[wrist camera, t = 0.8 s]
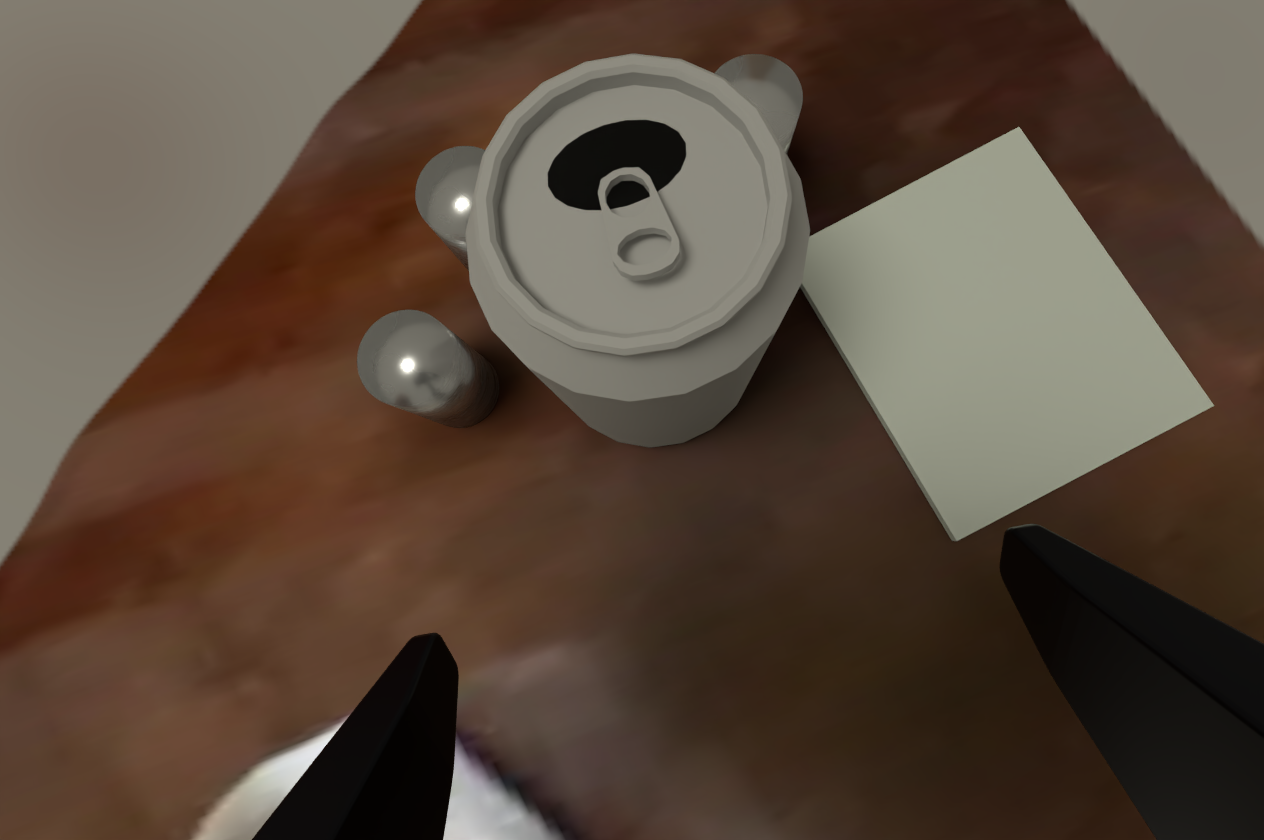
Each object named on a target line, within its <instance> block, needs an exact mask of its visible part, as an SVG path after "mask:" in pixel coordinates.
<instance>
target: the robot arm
mask: <svg viewBox="0 0 1264 840" xmlns="http://www.w3.org/2000/svg"><path fill="white" fill-rule="evenodd" d="M1000 573H1001V576H1002V579H1003V582H1004V584H1005V586H1006V588H1007V590H1008V592H1009V594H1010V596H1011V598H1012V599H1013V601H1014V603H1015V605H1016V607H1017V609H1018V611H1019V613H1020V615H1021V617H1022V619H1023V621H1024V623H1025V625H1026V627H1027V629H1028V631H1029V633H1030V635H1031V637H1032V639H1033V641H1034V643H1035V645H1036V647H1037V649H1038V651H1039V653H1040V655H1041V657H1042V659H1043V661H1044V663H1045V665H1046V666H1047V668H1048V670H1049V672H1050V674H1051V675H1052V677H1053V679H1054V680H1055V682H1056V684H1057V685H1058V687H1059V688H1060V690H1061V692H1062V693H1063V695H1064V696H1065V698H1066V699H1067V701H1068V702H1069V704H1070V706H1071V707H1072V709H1073V710H1074V712H1075V713H1076V715H1077V716H1078V718H1079V720H1080V721H1081V723H1082V724H1083V726H1084V727H1085V729H1086V730H1087V732H1088V733H1089V735H1090V737H1091V738H1092V740H1093V741H1094V743H1095V744H1096V746H1097V747H1098V749H1099V751H1100V752H1101V754H1102V755H1103V757H1104V758H1105V760H1106V761H1107V763H1108V765H1109V766H1110V768H1111V769H1112V771H1113V772H1114V774H1115V775H1116V777H1117V778H1118V780H1119V782H1120V783H1121V785H1122V786H1123V788H1124V789H1125V791H1126V792H1127V794H1128V796H1129V797H1130V799H1131V800H1132V802H1133V803H1134V805H1135V806H1136V808H1137V809H1138V811H1139V813H1140V814H1141V816H1142V817H1143V819H1144V820H1145V822H1146V823H1147V825H1148V827H1149V828H1150V830H1151V831H1152V833H1153V834H1154V836H1155V837H1156V839H1157V840H1264V644H1263V643H1261V642H1259V641H1257V640H1256V639H1254V638H1252V637H1250V636H1248V635H1246V634H1244V633H1242V632H1240V631H1239V630H1237V629H1235V628H1233V627H1231V626H1229V625H1227V624H1225V623H1223V622H1222V621H1220V620H1218V619H1216V618H1214V617H1212V616H1210V615H1208V614H1206V613H1205V612H1203V611H1201V610H1199V609H1197V608H1195V607H1193V606H1191V605H1189V604H1188V603H1186V602H1184V601H1182V600H1180V599H1178V598H1176V597H1174V596H1172V595H1171V594H1169V593H1167V592H1165V591H1163V590H1161V589H1159V588H1157V587H1155V586H1154V585H1152V584H1150V583H1148V582H1146V581H1144V580H1142V579H1140V578H1139V577H1137V576H1135V575H1133V574H1131V573H1129V572H1127V571H1125V570H1123V569H1122V568H1120V567H1118V566H1116V565H1114V564H1112V563H1110V562H1108V561H1106V560H1105V559H1103V558H1101V557H1099V556H1097V555H1095V554H1093V553H1091V552H1089V551H1088V550H1086V549H1084V548H1082V547H1080V546H1078V545H1076V544H1074V543H1072V542H1071V541H1069V540H1067V539H1065V538H1063V537H1061V536H1059V535H1057V534H1055V533H1054V532H1052V531H1050V530H1048V529H1046V528H1044V527H1042V526H1040V525H1037V524H1027V525H1022V526H1016V527H1011V528H1009V529H1007V530H1006V532H1005V534H1004V539H1003V546H1002V552H1001V559H1000ZM458 677H459V675H458V667H457V664H456V662H455V660H454V658H453V656H452V654H451V653H450V651H449V649H448V647H447V646H446V644H445V642H444V641H443V639H442V637H441V636H440V635H439V634H437V633H429V634H423V635H418V636H414V637H413V638H411V639H410V640H409V641H408V642H407V643H406V645H405V646H404V647H403V649H402V650H401V651H400V652H399V654H398V655H397V656H396V657H395V659H394V660H393V661H392V663H391V664H390V665H389V666H388V668H387V669H386V670H385V671H384V673H383V674H382V675H381V676H380V678H379V679H378V680H377V682H376V683H375V684H374V685H373V687H372V688H371V689H370V690H369V692H368V693H367V694H366V695H365V697H364V698H363V699H362V701H361V702H360V703H359V704H358V706H357V707H356V708H355V709H354V711H353V712H352V713H351V715H350V716H349V717H348V718H347V720H346V721H345V722H344V723H343V725H342V726H341V727H340V728H339V730H338V731H337V732H336V734H335V735H334V736H333V737H332V739H331V740H330V741H329V742H328V744H327V745H326V746H325V747H324V749H323V750H322V751H321V753H320V754H319V755H318V756H317V758H316V759H315V760H314V761H313V763H312V764H311V765H310V767H309V768H308V769H307V770H306V772H305V773H304V774H303V775H302V777H301V778H300V779H299V780H298V782H297V783H296V784H295V786H294V787H293V788H292V789H291V791H290V792H289V793H288V794H287V796H286V797H285V798H284V800H283V801H282V802H281V803H280V805H279V806H278V807H277V808H276V810H275V811H274V812H273V813H272V815H271V816H270V817H269V819H268V820H267V821H266V822H265V824H264V825H263V826H262V827H261V829H260V830H259V831H258V832H257V834H256V835H255V836H254V838H253V839H252V840H443V837H444V831H445V824H446V818H447V811H448V805H449V799H450V792H451V786H452V778H453V770H454V757H455V738H456V718H457V698H458Z"/></svg>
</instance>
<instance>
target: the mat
mask: <svg viewBox="0 0 1264 840" xmlns="http://www.w3.org/2000/svg"><path fill="white" fill-rule="evenodd" d="M800 288H801V289H802V291H803V293H804V294H805V296H806V298H807V300H808V301H809V303H810V305H811V306H812V308H813V310H814V311H815V313H816V315H817V316H818V318H819V320H820V321H821V323H822V325H823V326H824V328H825V330H826V331H827V333H828V335H829V336H830V338H831V340H832V341H833V343H834V345H835V346H836V348H837V350H838V351H839V353H840V355H841V356H842V358H843V360H844V361H845V363H846V365H847V366H848V368H849V370H850V371H851V373H852V375H853V376H854V378H855V380H856V381H857V383H858V385H859V386H860V388H861V390H862V391H863V393H864V395H865V396H866V398H867V400H868V401H869V403H870V405H871V407H872V408H873V410H874V412H875V413H876V415H877V417H878V418H879V420H880V422H881V423H882V425H883V427H884V428H885V430H886V432H887V433H888V435H889V437H890V438H891V440H892V442H893V443H894V445H895V447H896V448H897V450H898V452H899V453H900V455H901V457H902V458H903V460H904V462H905V463H906V465H907V467H908V468H909V470H910V472H911V473H912V475H913V477H914V478H915V480H916V482H917V483H918V485H919V487H920V488H921V490H922V492H923V493H924V495H925V497H926V498H927V500H928V502H929V503H930V505H931V507H932V509H933V510H934V512H935V514H936V515H937V517H938V519H939V520H940V522H941V524H942V525H943V527H944V529H945V530H946V532H947V534H948V535H949V537H950V539H951V540H952V541H958V540H960V539H962V538H964V537H966V536H968V535H970V534H971V533H973V532H975V531H977V530H979V529H981V528H983V527H985V526H987V525H989V524H990V523H992V522H994V521H996V520H998V519H1000V518H1002V517H1004V516H1006V515H1008V514H1009V513H1011V512H1013V511H1015V510H1017V509H1019V508H1021V507H1023V506H1025V505H1027V504H1028V503H1030V502H1032V501H1034V500H1036V499H1038V498H1040V497H1042V496H1044V495H1046V494H1047V493H1049V492H1051V491H1053V490H1055V489H1057V488H1059V487H1061V486H1063V485H1065V484H1066V483H1068V482H1070V481H1072V480H1074V479H1076V478H1078V477H1080V476H1082V475H1084V474H1085V473H1087V472H1089V471H1091V470H1093V469H1095V468H1097V467H1099V466H1101V465H1103V464H1104V463H1106V462H1108V461H1110V460H1112V459H1114V458H1116V457H1118V456H1120V455H1122V454H1123V453H1125V452H1127V451H1129V450H1131V449H1133V448H1135V447H1137V446H1139V445H1141V444H1142V443H1144V442H1146V441H1148V440H1150V439H1152V438H1154V437H1156V436H1158V435H1159V434H1161V433H1163V432H1165V431H1167V430H1169V429H1171V428H1173V427H1175V426H1177V425H1178V424H1180V423H1182V422H1184V421H1186V420H1188V419H1190V418H1192V417H1194V416H1196V415H1197V414H1199V413H1201V412H1203V411H1205V410H1207V409H1209V408H1211V407H1213V406H1214V405H1213V404H1212V402H1211V401H1210V399H1209V398H1208V396H1207V395H1206V393H1205V392H1204V391H1203V389H1202V388H1201V386H1200V385H1199V383H1198V382H1197V381H1196V379H1195V378H1194V376H1193V375H1192V373H1191V372H1190V371H1189V369H1188V368H1187V366H1186V365H1185V363H1184V362H1183V361H1182V359H1181V358H1180V356H1179V355H1178V353H1177V352H1176V351H1175V349H1174V348H1173V346H1172V345H1171V343H1170V342H1169V341H1168V339H1167V338H1166V336H1165V335H1164V333H1163V332H1162V331H1161V329H1160V328H1159V326H1158V325H1157V323H1156V322H1155V321H1154V319H1153V318H1152V316H1151V315H1150V313H1149V312H1148V311H1147V309H1146V308H1145V306H1144V305H1143V303H1142V302H1141V301H1140V299H1139V298H1138V296H1137V295H1136V293H1135V292H1134V290H1133V289H1132V288H1131V286H1130V285H1129V283H1128V282H1127V280H1126V279H1125V278H1124V276H1123V275H1122V273H1121V272H1120V270H1119V269H1118V268H1117V266H1116V265H1115V263H1114V262H1113V260H1112V259H1111V258H1110V256H1109V255H1108V253H1107V252H1106V250H1105V249H1104V248H1103V246H1102V245H1101V243H1100V242H1099V240H1098V239H1097V238H1096V236H1095V235H1094V233H1093V232H1092V230H1091V229H1090V228H1089V226H1088V225H1087V223H1086V222H1085V220H1084V219H1083V218H1082V216H1081V215H1080V213H1079V212H1078V210H1077V209H1076V208H1075V206H1074V205H1073V203H1072V202H1071V200H1070V199H1069V198H1068V196H1067V195H1066V193H1065V192H1064V190H1063V189H1062V188H1061V186H1060V185H1059V183H1058V182H1057V180H1056V179H1055V177H1054V176H1053V175H1052V173H1051V172H1050V170H1049V169H1048V167H1047V166H1046V165H1045V163H1044V162H1043V160H1042V159H1041V157H1040V156H1039V155H1038V153H1037V152H1036V150H1035V149H1034V147H1033V146H1032V145H1031V143H1030V142H1029V140H1028V139H1027V137H1026V136H1025V135H1024V133H1023V132H1022V130H1021V129H1020V127H1018V128H1016V129H1014V130H1012V131H1010V132H1008V133H1006V134H1004V135H1003V136H1001V137H999V138H997V139H995V140H993V141H991V142H989V143H987V144H985V145H983V146H982V147H980V148H978V149H976V150H974V151H972V152H970V153H968V154H966V155H964V156H963V157H961V158H959V159H957V160H955V161H953V162H951V163H949V164H947V165H945V166H943V167H942V168H940V169H938V170H936V171H934V172H932V173H930V174H928V175H926V176H924V177H922V178H921V179H919V180H917V181H915V182H913V183H911V184H909V185H907V186H905V187H903V188H902V189H900V190H898V191H896V192H894V193H892V194H890V195H888V196H886V197H884V198H882V199H881V200H879V201H877V202H875V203H873V204H871V205H869V206H867V207H865V208H863V209H861V210H860V211H858V212H856V213H854V214H852V215H850V216H848V217H846V218H844V219H842V220H840V221H839V222H837V223H835V224H833V225H831V226H829V227H827V228H825V229H823V230H821V231H820V232H818V233H816V234H814V235H812V236H810V237H809V241H808V247H807V254H806V260H805V267H804V273H803V279H802V283H801V285H800Z"/></svg>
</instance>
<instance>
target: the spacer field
mask: <svg viewBox="0 0 1264 840" xmlns="http://www.w3.org/2000/svg"><path fill="white" fill-rule="evenodd" d="M714 74H716V75H719V76H721V77H723V78H725V79H726V80H727V81H729V82H730V83H731V84H732V85H733V86H734V87H735V88H736V89H738V90H739V91H740V92H741V93H742V94H743V95H744V96H746V97H747V98H748V99H749V100H750V101H751V102H752V103H753V104H755V105H756V106H757V107H758V108H759V109H760V110H761V112H762V113H763V115H764V117H765V119H766V120H767V122H768V124H769V126H770V127H771V129H772V131H773V133H774V134H775V135H776V137H777V139H778V140H779V142H780V144H781V146H782V147H783V149H784V151H785V153H786V154H787V153H788V150H789V147H790V144H791V140H792V137H793V134H794V130H795V127H796V124H797V121H798V117H799V114H800V111H801V107H802V101H803V93H802V88H801V84H800V82H799V80H798V78H797V76H796V75H795V73H794V72H793V71H792V70H791V68H790V67H788V66H787V65H786V64H785V63H783V62H782V61H780V60H778V59H776V58H773V57H770V56H767V55H760V54H749V55H743V56H740V57H737V58H734V59H732V60H730V61H728V62H726V63H725V64H724V65H722V66H721V67H720V68H719V69H718V70H717V71H716V72H715V73H714ZM484 152H485V150H483V149H481V148H477V147H472V146H459V147H454V148H450V149H448V150H445V151H443V152H441V153H439V154H438V155H436V156H435V157H434V158H432V159H431V160H430V161H429V162H428V163H427V165H426V166H425V167H424V169H423V170H422V172H421V174H420V176H419V178H418V181H417V185H416V192H415V196H416V204H417V207H418V210H419V212H420V214H421V216H422V217H423V219H424V220H425V221H426V222H427V223H428V225H429V226H430V227H431V228H432V229H433V230H434V232H435V233H436V234H437V235H438V236H439V237H440V238H441V240H442V241H443V242H444V243H445V244H446V245H447V246H448V248H449V249H450V250H451V251H452V252H453V253H454V255H455V256H456V257H457V258H458V259H459V260H460V261H461V263H462V264H463V265H464V266H465V267H466V268H467V269H468V271H469V265H468V254H467V244H466V228H467V224H468V220H469V215H470V211H471V207H472V199H473V194H474V190H475V186H476V181H477V177H478V173H479V168H480V164H481V160H482V156H483V154H484ZM357 367H358V372H359V376H360V379H361V381H362V383H363V385H364V386H365V388H366V389H367V390H368V391H369V392H370V394H372V395H373V396H374V397H375V398H377V399H378V400H380V401H382V402H384V403H387V404H389V405H392V406H395V407H398V408H400V409H403V410H406V411H408V412H411V413H414V414H416V415H419V416H422V417H424V418H427V419H430V420H432V421H435V422H438V423H440V424H443V425H446V426H449V427H454V428H464V427H469V426H472V425H475V424H477V423H479V422H480V421H482V420H483V419H484V418H486V417H487V416H488V415H489V413H490V412H491V411H492V409H493V408H494V406H495V404H496V402H497V399H498V395H499V380H498V376H497V373H496V371H495V369H494V367H493V366H492V364H491V363H490V362H489V361H488V360H487V359H485V358H484V357H483V356H482V355H480V354H479V353H478V352H477V351H475V350H474V349H473V348H472V347H470V346H469V345H468V344H467V343H465V342H464V341H463V340H462V339H460V338H459V337H458V336H457V335H455V334H454V333H453V332H452V331H450V330H449V329H448V328H447V327H445V326H444V325H443V324H442V323H440V322H439V321H438V320H437V319H435V318H434V317H432V316H431V315H429V314H426V313H424V312H421V311H416V310H401V311H396V312H393V313H390V314H388V315H386V316H384V317H382V318H381V319H379V320H378V321H376V322H375V323H374V324H373V325H372V326H371V327H370V328H369V330H368V331H367V332H366V334H365V335H364V337H363V339H362V341H361V344H360V347H359V350H358V356H357Z"/></svg>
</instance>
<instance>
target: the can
mask: <svg viewBox="0 0 1264 840" xmlns="http://www.w3.org/2000/svg"><path fill="white" fill-rule="evenodd" d="M809 234H810V227H809V221H808V216H807V210H806V205H805V200H804V194H803V189H802V183H801V179H800V177H799V175H798V174H797V172H796V170H795V168H794V167H793V165H792V163H791V161H790V160H789V158H788V156H787V154H786V153H785V151H784V149H783V147H782V146H781V144H780V142H779V140H778V139H777V137H776V135H775V134H774V133H773V131H772V129H771V127H770V126H769V124H768V122H767V120H766V119H765V117H764V115H763V113H762V112H761V110H760V109H759V108H758V107H757V106H756V105H755V104H753V103H752V102H751V101H750V100H749V99H748V98H747V97H746V96H744V95H743V94H742V93H741V92H740V91H739V90H738V89H736V88H735V87H734V86H733V85H732V84H731V83H730V82H729V81H727V80H726V79H725V78H723V77H721V76H719V75H716V74H714V73H712V72H709V71H707V70H705V69H703V68H700V67H698V66H696V65H693V64H691V63H689V62H687V61H684V60H682V59H676V58H667V57H658V56H650V55H641V54H628V55H622V56H616V57H611V58H605V59H599V60H593V61H587V62H584V63H582V64H580V65H578V66H576V67H574V68H572V69H570V70H568V71H566V72H564V73H561V74H559V75H557V76H555V77H553V78H551V79H549V80H547V81H545V82H543V83H541V84H540V85H539V86H538V87H537V88H536V89H535V90H534V91H533V92H531V93H530V94H529V95H528V96H527V97H526V98H525V99H524V100H523V101H522V102H520V103H519V104H518V105H517V106H516V107H515V108H514V109H513V110H512V111H511V112H509V113H508V114H507V115H506V117H505V119H504V120H503V122H502V124H501V125H500V127H499V129H498V130H497V132H496V134H495V135H494V137H493V139H492V140H491V142H490V144H489V146H488V147H487V149H486V151H485V152H484V154H483V156H482V160H481V164H480V168H479V173H478V177H477V181H476V186H475V190H474V194H473V199H472V207H471V211H470V215H469V220H468V224H467V228H466V244H467V254H468V265H469V275H470V283H471V286H472V288H473V290H474V292H475V294H476V297H477V299H478V301H479V303H480V305H481V308H482V310H483V312H484V314H485V316H486V319H487V321H488V323H489V325H490V327H491V329H492V331H493V332H494V333H495V334H496V335H497V336H498V337H499V338H500V339H501V340H502V341H503V342H504V343H505V344H506V345H507V346H508V347H509V348H510V350H511V351H512V352H513V353H514V354H515V355H516V356H517V357H518V358H519V359H520V360H521V361H522V362H523V363H524V364H525V365H526V366H527V367H528V368H529V369H530V370H531V371H532V372H533V373H534V374H535V375H536V376H537V377H538V378H539V379H540V380H541V381H542V382H543V383H544V384H545V385H546V386H547V387H548V388H550V389H551V390H552V391H553V392H554V393H555V394H556V395H557V396H558V397H559V398H560V399H561V400H562V401H563V402H564V403H565V404H566V405H567V406H568V407H569V408H570V409H572V410H573V411H574V412H575V413H576V414H577V415H578V416H579V417H580V418H581V419H582V420H583V421H584V422H585V423H586V424H587V425H588V426H589V427H591V428H593V429H595V430H597V431H599V432H600V433H602V434H604V435H606V436H608V437H610V438H612V439H614V440H615V441H617V442H622V443H627V444H633V445H639V446H644V447H650V448H651V447H658V446H665V445H672V444H679V443H684V442H686V441H688V440H690V439H692V438H694V437H696V436H698V435H701V434H703V433H705V432H707V431H709V430H711V429H713V428H714V427H715V426H716V425H717V424H718V423H719V422H720V421H721V420H722V419H723V418H724V417H725V416H726V415H727V414H728V413H730V412H731V411H732V410H733V409H734V408H735V407H736V406H737V404H738V402H739V400H740V398H741V396H742V394H743V393H744V391H745V389H746V387H747V385H748V383H749V381H750V380H751V378H752V376H753V374H754V372H755V370H756V368H757V366H758V365H759V363H760V361H761V359H762V357H763V355H764V353H765V351H766V350H767V348H768V346H769V344H770V342H771V340H772V338H773V336H774V335H775V333H776V331H777V329H778V327H779V325H780V323H781V321H782V319H783V318H784V316H785V314H786V312H787V310H788V308H789V306H790V304H791V302H792V300H793V299H794V297H795V295H796V293H797V291H798V289H799V287H800V285H801V283H802V279H803V273H804V267H805V260H806V254H807V247H808V241H809Z"/></svg>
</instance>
